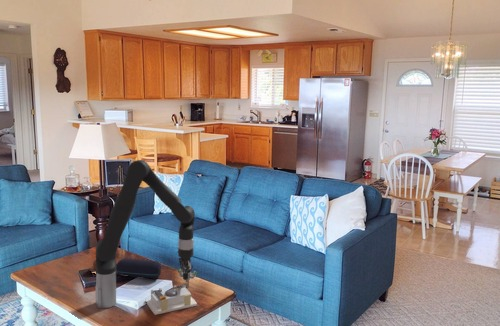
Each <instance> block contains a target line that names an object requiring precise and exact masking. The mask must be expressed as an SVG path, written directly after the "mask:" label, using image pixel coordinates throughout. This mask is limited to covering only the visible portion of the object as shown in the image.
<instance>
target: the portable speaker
mask: <svg viewBox="0 0 500 326" xmlns="http://www.w3.org/2000/svg"><path fill="white" fill-rule="evenodd" d="M116 274H117V275H119V274H123V275H128V276H132V277H131V278H137V277H143V278H142V279H149V278H151V280H152V279H153V280H155V279H159V277H160V276H161V274H162V263H161V262H159V261H157V260H152V259H141V258H131V257H130V258H128V257H127V258H122V259H120V260H119V261H118V262H117V263H116Z"/></svg>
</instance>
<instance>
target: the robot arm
mask: <svg viewBox="0 0 500 326" xmlns="http://www.w3.org/2000/svg"><path fill="white" fill-rule="evenodd" d="M142 182H143V183H145V184H146V185H147V186H148V187H149V188H150V189H151V190H152V191H153V192H154V194H155V196H157V198H158V199H159V200H160V201H161V202H162V203H163V204H164V205H165V206H166V207H167V208H168V209H169V210H170V211H171V212H172V214H173V215H174V217H175V218H176V219H177V220H178V221H179V222H180V224H179V225H180V226H179V228H178V242H177V247H178V248H177V255H178V262H179V266H180V269H181V270H182V272H183V277H182V280H184V281H186V280H187V279H188V273H190V272H191V273H192V270H193V268H194V267H193V266H194V265H191V263H192V259H191V258H192V257H193V256H194V246H195V245H194V224H195V218H196V216H195V210H194V208H193V207H192V206H190V205H185V206H184V204H183V203H182V200H181V198H180V197H179V196H178V195H177V194H176V193H175V192H174V191H173V190H172V189H171V188H170V187H169V186H168V185H167V184H165V183H164V182H163V181H162V180H161V179H160V177H158V175H157V174H156V173H155V172H154V171H153V169H152V168H151V166H150V165H149V164H148V162H147V161H145V160H143V159H138V160H134V161H132V162H130V164H129V165H128V168H127V171H126V175H125V177H124V182H123V185H122V187H121V188H120V191H119V193H118V195H117V197H116V199H115V202H114V204H113V206H112V208H111V212H110V215H109V218H108V222H107V228H106V232H105V234H104V236H103V238H100V239H99V240H98V241H97V242H96V245H95V260H96V274H95V275H96V277H95V279H96V282H95V283H96V284H95V287H94V288H95V305H96V307H97V308H98V309H101V308H102V309H106V308H107V309H108V308H112V307H114V306H115V305H116V304H117V263H116V262H117V260H116V259H117V258H116V254H117V250H118V247H119V243H120V240H121V237H122V235H123V233H124V231H125V229H126V227H127V225H128V224H129V223H128V222H129V220H130V218H131V215H132V213H133V210H134V209H135V205H136V200H137V194H138V191H139V188H140V186H141V185H142Z"/></svg>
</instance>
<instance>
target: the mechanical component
mask: <svg viewBox="0 0 500 326" xmlns="http://www.w3.org/2000/svg"><path fill="white" fill-rule="evenodd" d="M177 272H178V274H179V277H180V278H183V272H182V270H181V268H179V269H178V270H177ZM197 275H198V271H196V270H193V272H192V271H191V272H190V273H188V279H187V280H185V282H188V285H185V288H186V289H188V288H189V287H190V286H189V284H190V283H189V282H190V280H193V279H194V278H195V277H196V276H197Z"/></svg>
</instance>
